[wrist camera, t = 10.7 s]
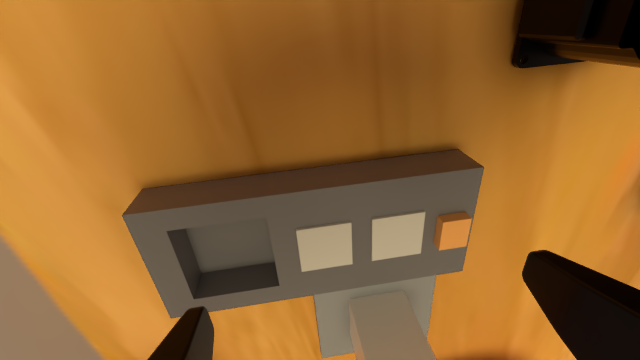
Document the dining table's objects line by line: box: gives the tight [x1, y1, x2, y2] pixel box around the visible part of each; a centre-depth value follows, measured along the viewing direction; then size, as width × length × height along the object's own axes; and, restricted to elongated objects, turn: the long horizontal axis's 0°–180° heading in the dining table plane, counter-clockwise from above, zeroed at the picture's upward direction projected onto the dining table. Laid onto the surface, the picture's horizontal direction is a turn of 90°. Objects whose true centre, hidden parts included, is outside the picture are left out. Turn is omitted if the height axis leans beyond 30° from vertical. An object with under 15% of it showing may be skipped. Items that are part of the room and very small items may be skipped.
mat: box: [314, 275, 436, 358], centre depth 28 cm, size 11×11×1 cm
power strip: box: [122, 149, 484, 318], centre depth 21 cm, size 22×9×4 cm, turn 94°
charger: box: [349, 290, 437, 360], centre depth 25 cm, size 5×5×7 cm
